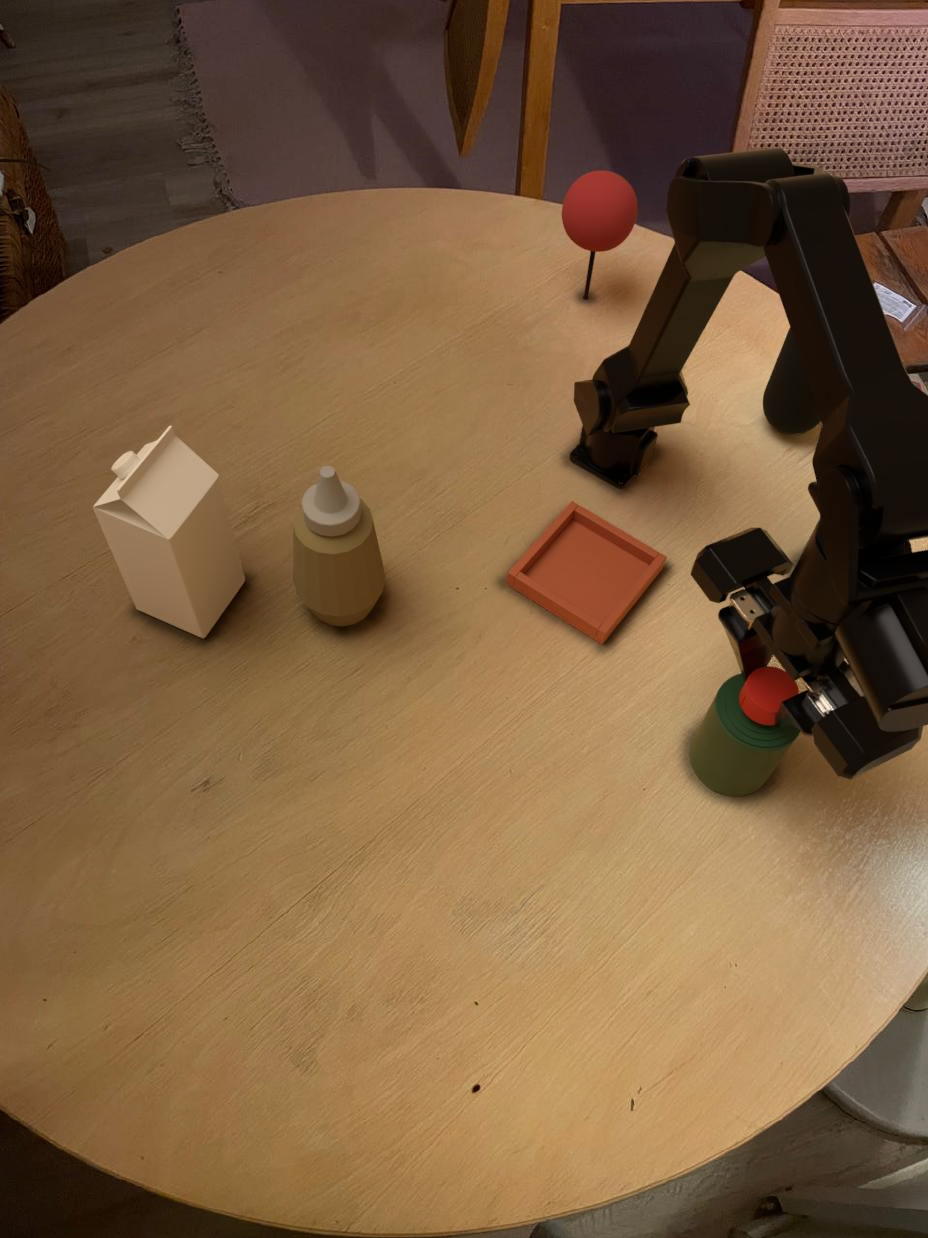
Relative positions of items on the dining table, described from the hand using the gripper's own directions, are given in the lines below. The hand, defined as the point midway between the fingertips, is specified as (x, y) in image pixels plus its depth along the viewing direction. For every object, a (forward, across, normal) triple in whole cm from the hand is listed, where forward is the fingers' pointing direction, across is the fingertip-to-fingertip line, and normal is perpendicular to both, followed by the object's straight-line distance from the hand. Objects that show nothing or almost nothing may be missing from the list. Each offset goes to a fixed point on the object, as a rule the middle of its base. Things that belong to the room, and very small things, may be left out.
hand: (766, 701), depth 78 cm
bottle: (+10, 0, 0) cm, 10 cm away
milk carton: (+11, +35, +35) cm, 51 cm away
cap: (-2, 0, 0) cm, 2 cm away
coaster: (+10, +21, +2) cm, 24 cm away
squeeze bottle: (+11, +28, +23) cm, 38 cm away
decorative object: (+11, +29, -27) cm, 41 cm away
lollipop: (+11, +54, -17) cm, 58 cm away
